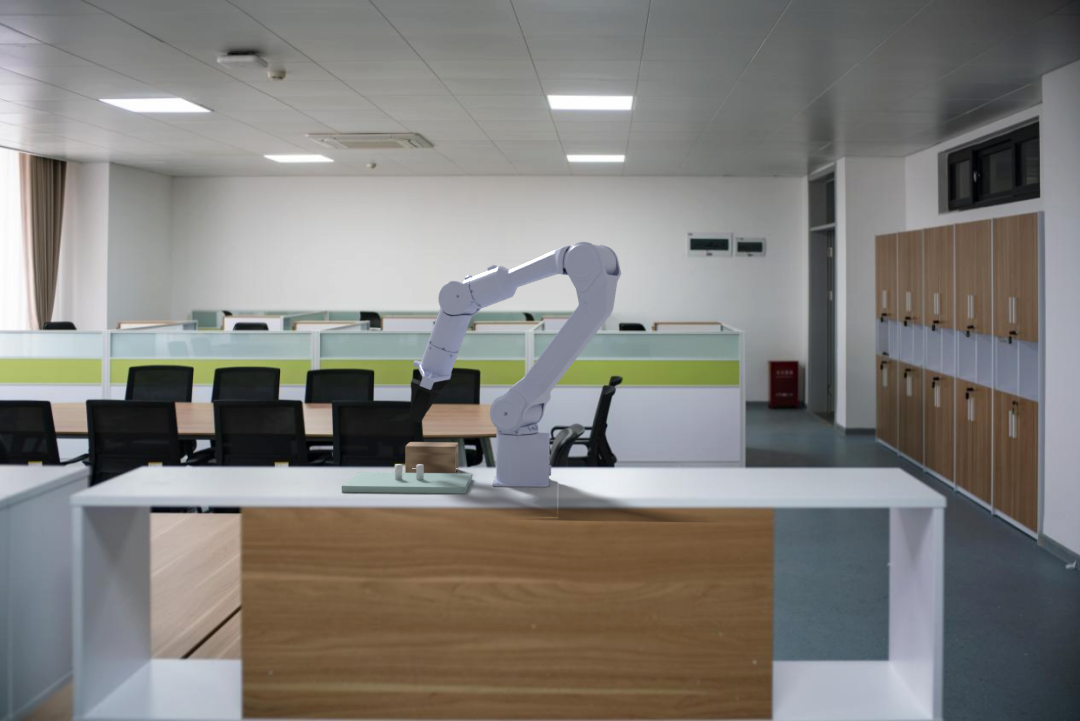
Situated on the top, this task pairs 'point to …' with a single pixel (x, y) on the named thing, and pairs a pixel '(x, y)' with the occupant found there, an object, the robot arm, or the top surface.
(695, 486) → the top surface
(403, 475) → the pin board
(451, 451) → the box
